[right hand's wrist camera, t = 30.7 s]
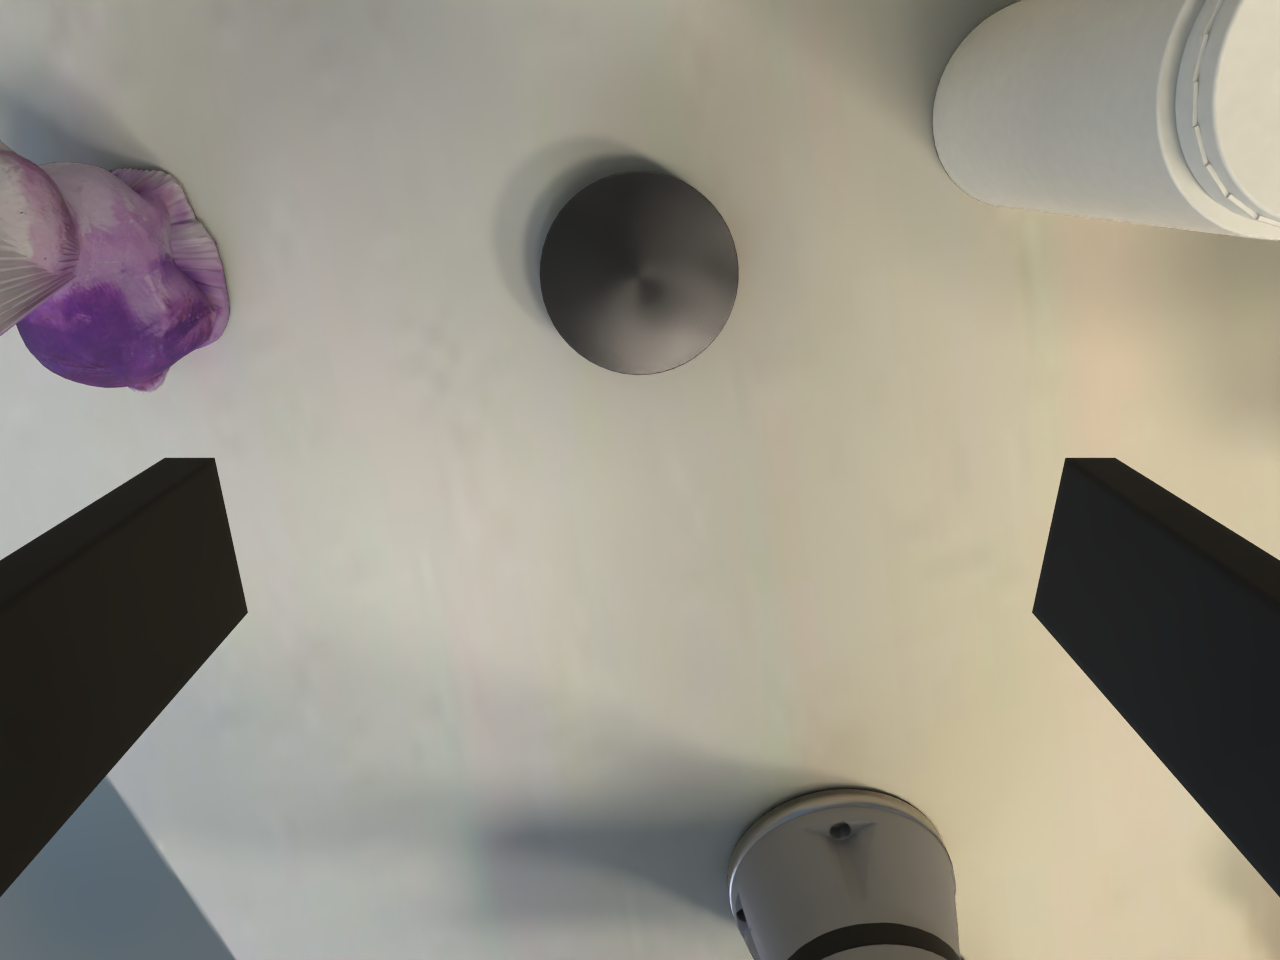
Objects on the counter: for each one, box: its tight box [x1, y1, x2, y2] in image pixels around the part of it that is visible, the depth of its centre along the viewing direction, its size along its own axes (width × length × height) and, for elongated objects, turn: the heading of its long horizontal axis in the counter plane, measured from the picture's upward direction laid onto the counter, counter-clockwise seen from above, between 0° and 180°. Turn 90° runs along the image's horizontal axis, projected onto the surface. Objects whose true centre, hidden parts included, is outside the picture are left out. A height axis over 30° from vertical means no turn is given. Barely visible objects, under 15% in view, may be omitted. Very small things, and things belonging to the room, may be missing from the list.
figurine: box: [0, 140, 230, 393], centre depth 33 cm, size 9×10×15 cm
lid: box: [540, 171, 738, 375], centre depth 39 cm, size 10×10×2 cm
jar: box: [933, 0, 1280, 240], centre depth 28 cm, size 9×9×19 cm
